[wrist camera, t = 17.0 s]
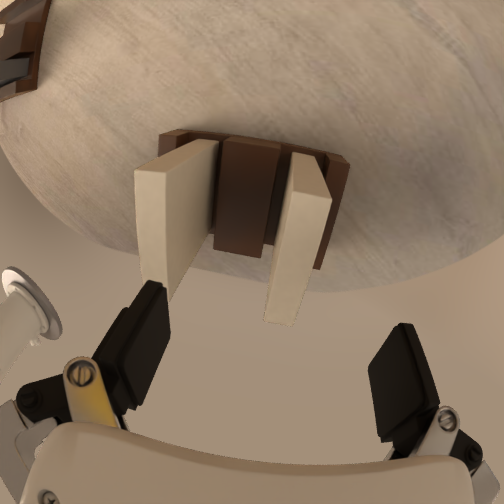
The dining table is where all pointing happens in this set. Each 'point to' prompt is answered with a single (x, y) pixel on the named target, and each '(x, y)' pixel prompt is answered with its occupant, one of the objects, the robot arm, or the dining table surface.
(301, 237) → the white book
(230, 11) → the dining table surface
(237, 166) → the rack
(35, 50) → the rack
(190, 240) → the white book
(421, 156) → the dining table surface
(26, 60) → the grey book
